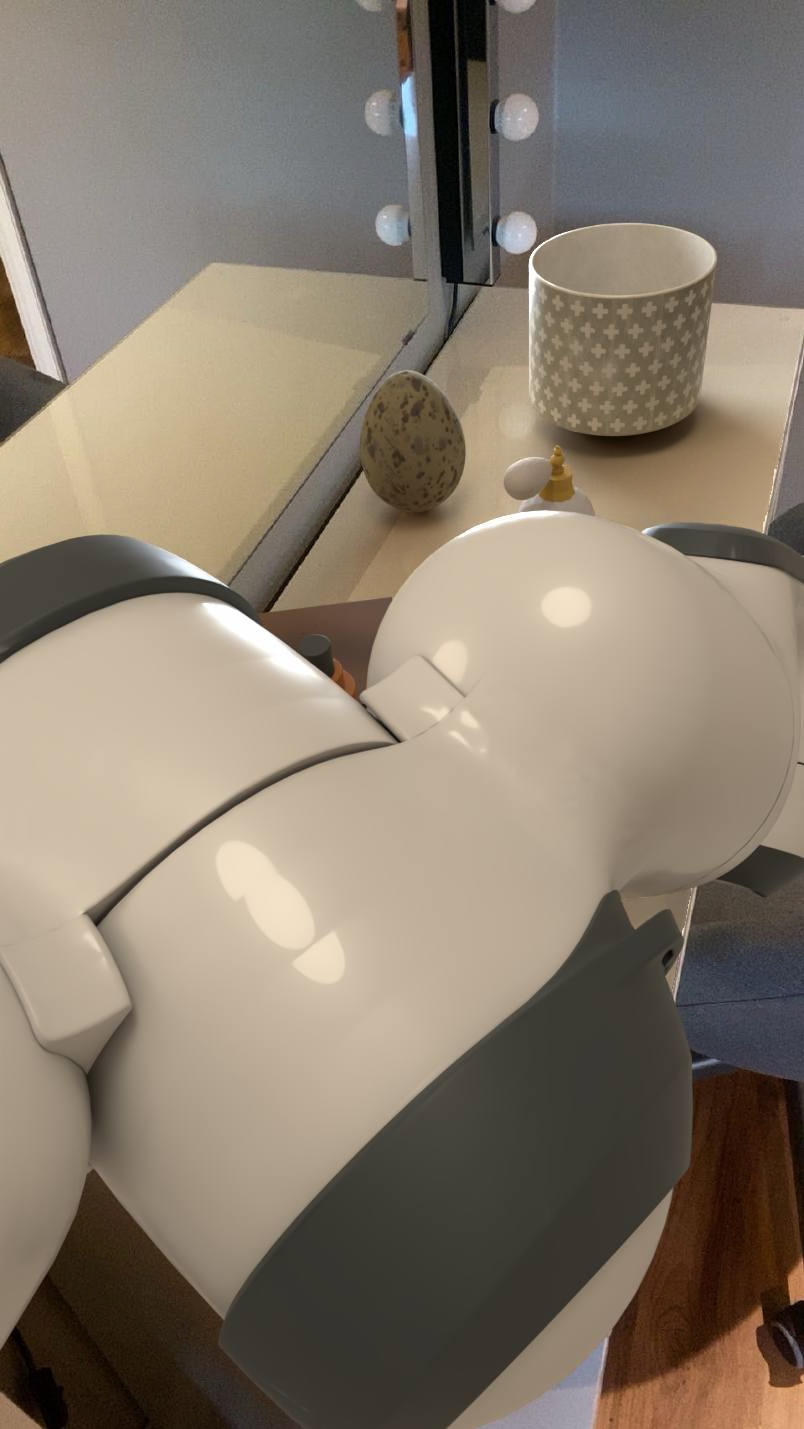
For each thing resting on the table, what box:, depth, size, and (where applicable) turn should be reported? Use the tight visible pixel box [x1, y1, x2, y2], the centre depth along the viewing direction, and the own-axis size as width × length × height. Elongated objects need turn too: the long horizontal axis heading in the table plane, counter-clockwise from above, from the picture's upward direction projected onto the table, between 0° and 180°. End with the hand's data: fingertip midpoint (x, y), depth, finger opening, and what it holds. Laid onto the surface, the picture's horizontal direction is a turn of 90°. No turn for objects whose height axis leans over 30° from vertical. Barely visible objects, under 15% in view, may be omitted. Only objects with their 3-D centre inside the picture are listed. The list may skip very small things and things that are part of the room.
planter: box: [528, 222, 718, 437], centre depth 114 cm, size 19×19×18 cm
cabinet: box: [257, 596, 394, 709], centre depth 86 cm, size 13×12×8 cm
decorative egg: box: [359, 369, 467, 513], centre depth 106 cm, size 11×11×15 cm
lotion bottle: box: [297, 635, 358, 702], centre depth 75 cm, size 5×5×16 cm
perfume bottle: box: [503, 444, 596, 517], centre depth 99 cm, size 8×10×12 cm
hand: (403, 726), depth 72 cm, fingers open, 8 cm apart
